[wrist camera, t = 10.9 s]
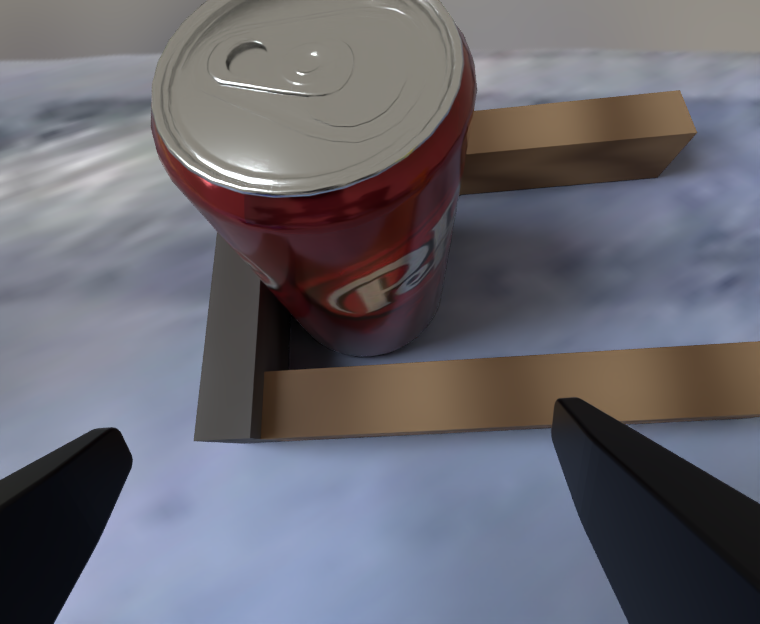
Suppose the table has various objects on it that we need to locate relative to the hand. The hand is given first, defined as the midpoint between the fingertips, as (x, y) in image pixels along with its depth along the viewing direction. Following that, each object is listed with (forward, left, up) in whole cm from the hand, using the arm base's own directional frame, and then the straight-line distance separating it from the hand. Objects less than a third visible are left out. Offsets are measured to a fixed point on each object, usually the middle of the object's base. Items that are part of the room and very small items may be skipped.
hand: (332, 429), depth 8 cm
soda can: (+5, -5, -10) cm, 12 cm away
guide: (+2, -8, -9) cm, 13 cm away
